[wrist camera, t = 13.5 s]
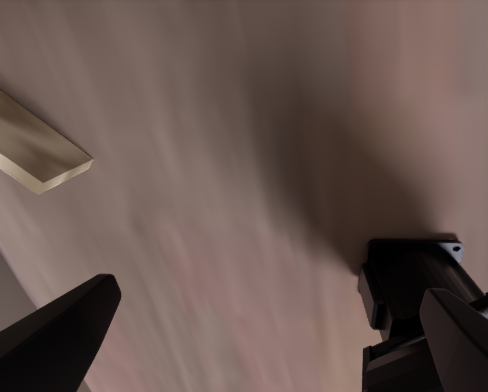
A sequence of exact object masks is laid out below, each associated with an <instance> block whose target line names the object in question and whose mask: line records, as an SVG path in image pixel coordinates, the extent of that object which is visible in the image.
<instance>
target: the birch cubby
mask: <svg viewBox="0 0 488 392" xmlns="http://www.w3.org/2000/svg"><path fill="white" fill-rule="evenodd" d="M92 161H93V158H91V157H90V156H89V155H87V154H86V153H85V152H83V151H82V150H81V149H79V148H78V147H77V146H75V145H74V144H73V143H71V142H70V141H69V140H67V139H66V138H65V137H63V136H62V135H61V134H59V133H58V132H57V131H55V130H54V129H52V128H51V127H50V126H48V125H47V124H46V123H44V122H43V121H42V120H40V119H39V118H38V117H36V116H35V115H34V114H32V113H31V112H30V111H28V110H27V109H26V108H24V107H23V106H22V105H20V104H19V103H18V102H16V101H15V100H14V99H12V98H11V97H9V96H8V95H7V94H5V93H4V92H3V91H1V90H0V169H1V170H3V171H4V172H5V173H7V174H8V175H10V176H11V177H13V178H14V179H16V180H17V181H19V182H20V183H21V184H23V185H24V186H26V187H27V188H29V189H30V190H32V191H33V192H34V193H36V194H37V195H39V194H41V193H43V192H45V191H47V190H49V189H51V188H53V187H55V186H57V185H59V184H61V183H62V182H64V181H66V180H68V179H70V178H72V177H74V176H76V175H78V174H80V173H82V172H84V171H86V170H88V169H89V167H90V165H91V163H92Z"/></svg>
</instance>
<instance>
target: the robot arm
mask: <svg viewBox="0 0 488 392" xmlns="http://www.w3.org/2000/svg"><path fill="white" fill-rule="evenodd" d="M374 245H377V246H376V247H373V246H374ZM455 246H457V247H456V248H453V247H455ZM463 252H464V245H463V244H462V243H461V242H460V241H458V240H405V239H373V240H370V241H369V242H368V245H367V253H366V262H365V263H363V264H362V265H361V271H360V280H359V290H360V293H361V296H362V300H363V303H364V307H365V310H366V314H367V317H368V321H369V324H370V327H371V328H372V329H374V330H379V331H380V334H381V337H382V340H383V342H381V343H379V344H376V345H374V346H368V347H366V348H364V349H363V369H362V392H488V292H487V293H485V294H486V295H485V294H484V293H483V292H482V291H481V289H480V288H479V287H478V286H477V285H476V283H475V282H474V281H473V280H472V279H471V277H470V276H469V275H468V274H467V272H466V271H465V270H464V269H463V268H462V266H461V265H460V261H461V258H462V255H463ZM120 300H121V291H120V288H119V286H118V283H117V281H116V279H115V277H114V275H112V274H98V275H96V276H95V277H93V278H91V279H90V280H88V281H86V282H84V283H83V284H81V285H79V286H78V287H76V288H74V289H72V290H71V291H69V292H67V293H66V294H64V295H62V296H60V297H59V298H57V299H55V300H54V301H52V302H50V303H48V304H47V305H45V306H43V307H42V308H40V309H38V310H36V311H35V312H33V313H31V314H30V315H28V316H26V317H24V318H23V319H21V320H19V321H18V322H16V323H14V324H12V325H11V326H9V327H8V328H6V329H4V330H2V331H1V332H0V392H77V390H78V388H79V386H80V384H81V382H82V381H83V379H84V377H85V375H86V373H87V371H88V369H89V368H90V366H91V364H92V362H93V360H94V358H95V356H96V354H97V352H98V351H99V349H100V346H101V344H102V342H103V340H104V338H105V335H106V333H107V331H108V328H109V326H110V324H111V321H112V319H113V317H114V314H115V312H116V310H117V307H118V305H119V303H120Z"/></svg>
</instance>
